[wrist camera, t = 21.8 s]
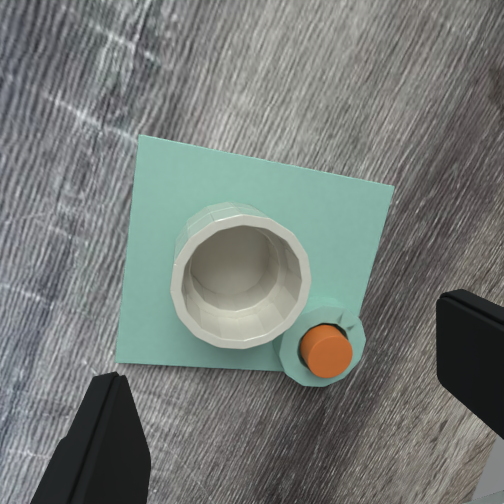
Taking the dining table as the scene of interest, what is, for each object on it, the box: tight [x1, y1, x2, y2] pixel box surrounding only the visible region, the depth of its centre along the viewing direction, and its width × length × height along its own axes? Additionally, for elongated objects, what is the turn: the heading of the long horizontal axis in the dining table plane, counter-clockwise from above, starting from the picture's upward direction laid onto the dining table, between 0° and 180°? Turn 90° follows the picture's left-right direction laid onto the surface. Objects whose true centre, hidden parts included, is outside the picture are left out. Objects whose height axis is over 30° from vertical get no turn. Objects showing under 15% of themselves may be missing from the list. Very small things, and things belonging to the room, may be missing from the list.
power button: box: [300, 325, 353, 378], centre depth 22 cm, size 3×3×2 cm
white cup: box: [170, 201, 312, 349], centre depth 18 cm, size 7×7×6 cm
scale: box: [115, 134, 395, 387], centre depth 22 cm, size 16×14×3 cm
